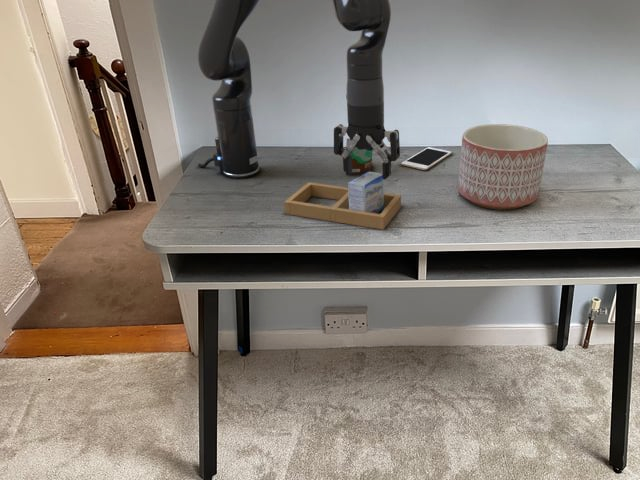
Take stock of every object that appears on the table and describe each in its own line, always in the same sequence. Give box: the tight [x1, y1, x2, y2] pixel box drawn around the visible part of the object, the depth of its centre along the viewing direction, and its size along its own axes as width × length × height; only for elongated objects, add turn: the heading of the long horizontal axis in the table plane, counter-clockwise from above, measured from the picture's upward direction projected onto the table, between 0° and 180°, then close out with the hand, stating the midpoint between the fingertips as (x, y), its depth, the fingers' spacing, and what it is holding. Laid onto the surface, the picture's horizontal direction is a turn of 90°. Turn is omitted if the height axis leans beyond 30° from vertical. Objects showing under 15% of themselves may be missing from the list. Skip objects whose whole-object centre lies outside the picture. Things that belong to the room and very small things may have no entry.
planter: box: [458, 123, 549, 210], centre depth 130 cm, size 19×19×15 cm
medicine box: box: [347, 171, 385, 214], centre depth 123 cm, size 8×4×9 cm, turn 148°
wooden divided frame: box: [284, 181, 402, 230], centre depth 126 cm, size 24×12×3 cm, turn 71°
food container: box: [345, 138, 374, 176], centre depth 146 cm, size 12×6×10 cm, turn 168°
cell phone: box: [401, 146, 452, 171], centre depth 155 cm, size 8×16×1 cm, turn 148°
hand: (367, 175), depth 121 cm, fingers open, 8 cm apart
